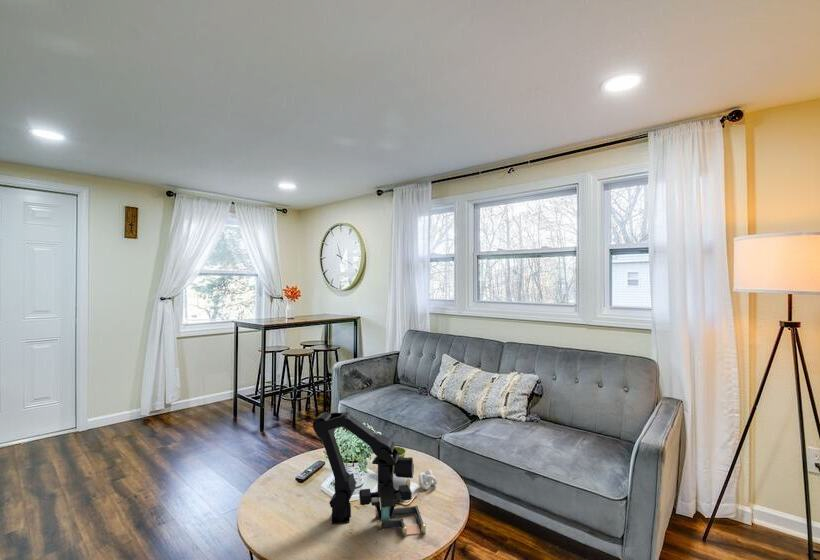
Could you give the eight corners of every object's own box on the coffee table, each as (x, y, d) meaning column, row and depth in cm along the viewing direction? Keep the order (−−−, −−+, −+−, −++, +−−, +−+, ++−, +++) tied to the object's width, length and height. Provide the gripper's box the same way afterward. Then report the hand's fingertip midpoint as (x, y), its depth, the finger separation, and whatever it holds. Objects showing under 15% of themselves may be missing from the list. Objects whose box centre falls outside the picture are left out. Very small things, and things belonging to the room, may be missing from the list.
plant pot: (409, 468, 182) (409, 449, 182) (398, 476, 174) (398, 457, 174) (393, 462, 187) (393, 445, 187) (381, 471, 179) (381, 452, 179)
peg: (381, 525, 140) (381, 505, 140) (380, 519, 143) (380, 500, 143) (390, 524, 141) (390, 504, 141) (388, 518, 144) (389, 499, 144)
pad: (406, 535, 135) (406, 534, 135) (404, 526, 140) (404, 525, 140) (420, 533, 136) (420, 532, 136) (417, 524, 141) (417, 523, 141)
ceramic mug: (406, 501, 155) (407, 481, 155) (387, 498, 157) (387, 479, 157) (412, 487, 166) (412, 469, 166) (394, 485, 168) (394, 467, 168)
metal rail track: (379, 540, 132) (379, 531, 132) (375, 516, 145) (375, 508, 145) (426, 534, 135) (426, 526, 135) (417, 511, 149) (417, 503, 149)
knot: (416, 482, 170) (416, 468, 170) (433, 480, 172) (433, 467, 171) (419, 491, 163) (419, 477, 162) (438, 489, 164) (438, 475, 164)
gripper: (361, 489, 132) (361, 535, 132) (414, 484, 136) (414, 528, 136) (359, 473, 143) (359, 515, 143) (408, 468, 147) (408, 509, 147)
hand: (385, 517), depth 142 cm, fingers closed on peg, 3 cm apart
